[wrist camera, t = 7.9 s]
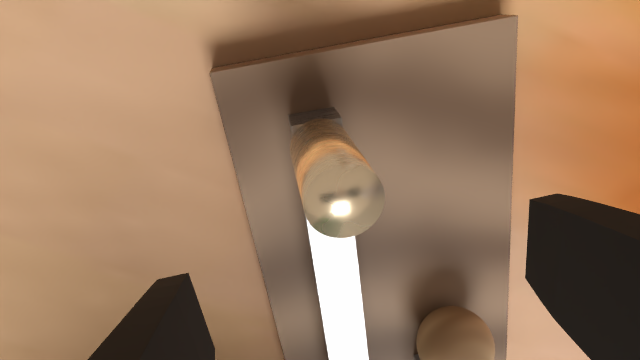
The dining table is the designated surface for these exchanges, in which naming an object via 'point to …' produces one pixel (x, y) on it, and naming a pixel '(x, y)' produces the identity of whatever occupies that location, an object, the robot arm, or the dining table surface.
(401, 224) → the base
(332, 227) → the lever
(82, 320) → the dining table surface
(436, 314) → the tan wooden ball
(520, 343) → the dining table surface
